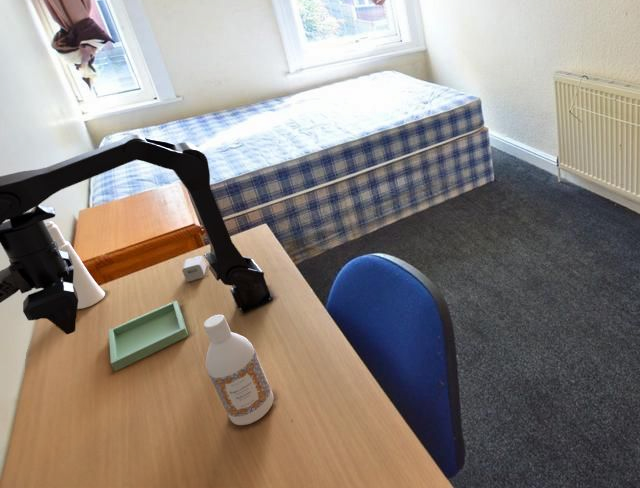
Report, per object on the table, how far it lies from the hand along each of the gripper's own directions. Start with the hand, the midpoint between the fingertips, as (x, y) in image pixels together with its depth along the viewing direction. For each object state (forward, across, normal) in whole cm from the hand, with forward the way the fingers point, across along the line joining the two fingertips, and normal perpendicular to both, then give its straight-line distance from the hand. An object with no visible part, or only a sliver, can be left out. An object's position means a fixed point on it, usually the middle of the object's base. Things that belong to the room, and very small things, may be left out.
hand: (69, 320), depth 85 cm
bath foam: (+14, +30, +19) cm, 38 cm away
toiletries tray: (+14, -6, +9) cm, 18 cm away
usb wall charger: (+14, -24, +22) cm, 36 cm away
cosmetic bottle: (+15, -34, +1) cm, 37 cm away
